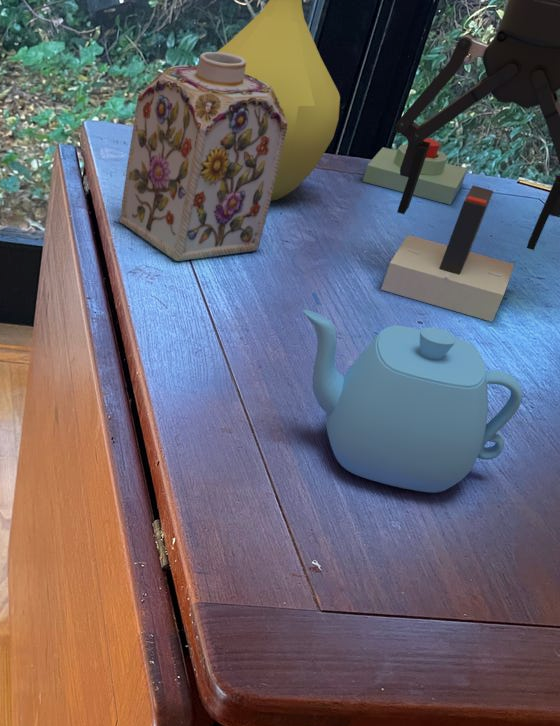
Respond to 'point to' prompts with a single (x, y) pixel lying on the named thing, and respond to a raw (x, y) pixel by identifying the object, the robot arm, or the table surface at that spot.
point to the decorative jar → (203, 159)
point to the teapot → (410, 406)
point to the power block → (433, 180)
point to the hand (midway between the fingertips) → (465, 227)
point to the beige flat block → (447, 279)
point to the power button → (432, 148)
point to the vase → (291, 86)
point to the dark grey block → (466, 229)
